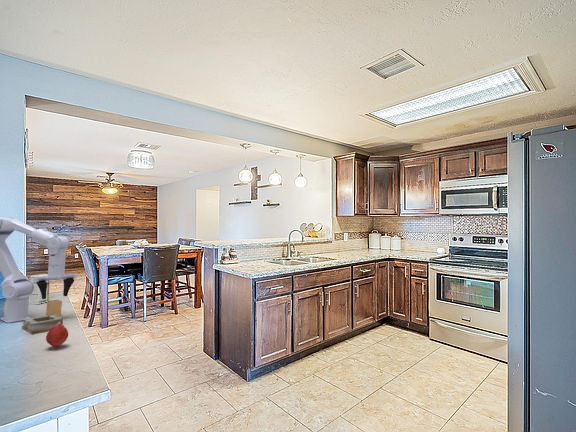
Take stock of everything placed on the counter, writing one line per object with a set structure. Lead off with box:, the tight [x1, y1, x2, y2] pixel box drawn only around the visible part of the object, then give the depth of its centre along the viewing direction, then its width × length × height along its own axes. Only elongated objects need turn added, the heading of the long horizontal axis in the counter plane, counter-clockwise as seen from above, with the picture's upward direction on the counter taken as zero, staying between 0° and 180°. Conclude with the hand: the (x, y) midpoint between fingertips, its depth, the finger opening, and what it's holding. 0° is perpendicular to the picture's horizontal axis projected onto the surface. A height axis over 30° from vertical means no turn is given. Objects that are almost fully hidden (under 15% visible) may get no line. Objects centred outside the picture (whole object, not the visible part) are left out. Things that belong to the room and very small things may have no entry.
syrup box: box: [29, 273, 51, 305], centre depth 162 cm, size 6×6×14 cm
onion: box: [45, 322, 69, 348], centre depth 103 cm, size 6×6×8 cm
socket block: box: [21, 315, 65, 335], centre depth 122 cm, size 11×10×4 cm
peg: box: [45, 299, 63, 318], centre depth 133 cm, size 4×4×8 cm
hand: (54, 297), depth 133 cm, fingers open, 7 cm apart
